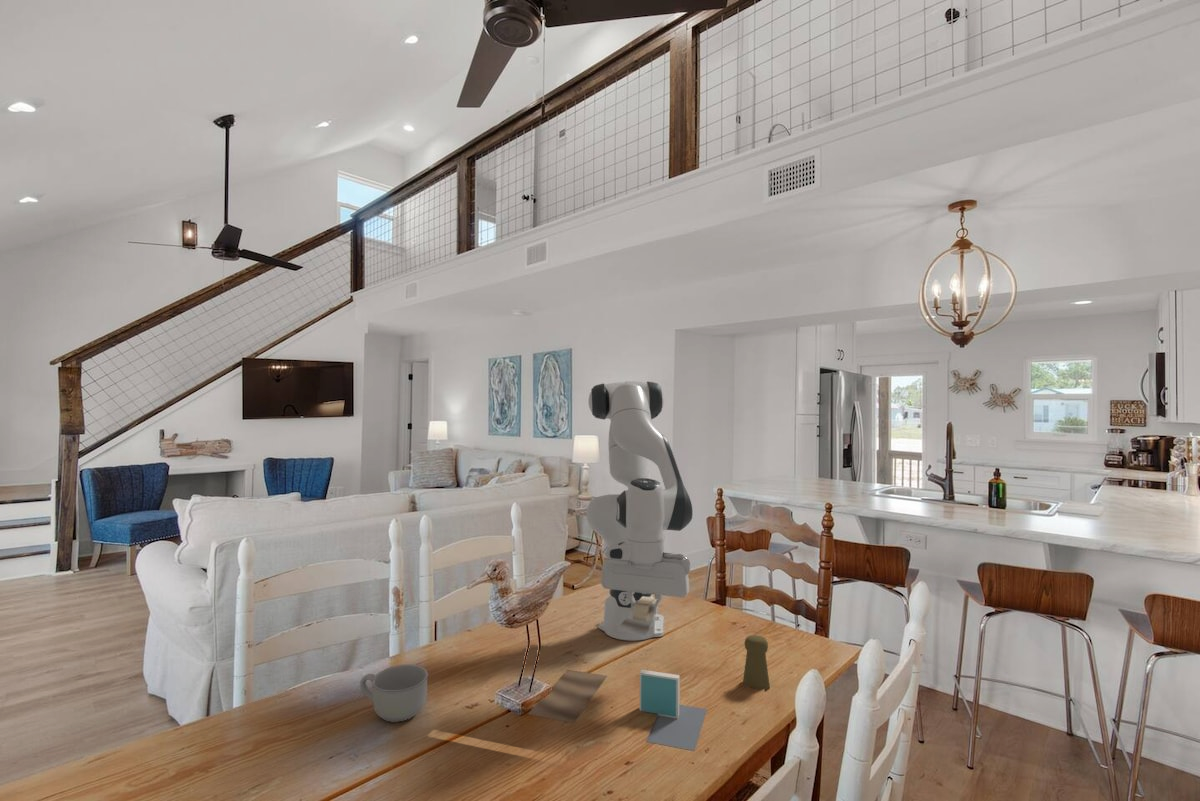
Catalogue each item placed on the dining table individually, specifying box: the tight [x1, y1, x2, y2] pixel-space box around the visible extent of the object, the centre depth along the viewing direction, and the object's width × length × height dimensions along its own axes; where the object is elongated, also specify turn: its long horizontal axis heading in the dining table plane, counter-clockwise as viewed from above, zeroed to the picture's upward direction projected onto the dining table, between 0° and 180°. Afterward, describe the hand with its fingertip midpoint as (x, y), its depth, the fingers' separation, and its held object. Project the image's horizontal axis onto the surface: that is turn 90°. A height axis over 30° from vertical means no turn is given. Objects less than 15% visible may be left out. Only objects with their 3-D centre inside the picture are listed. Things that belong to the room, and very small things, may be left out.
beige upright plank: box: [618, 596, 656, 635], centre depth 131 cm, size 14×6×4 cm, turn 160°
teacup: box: [359, 664, 429, 723], centre depth 120 cm, size 14×11×8 cm
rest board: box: [527, 669, 608, 724], centre depth 127 cm, size 22×10×1 cm, turn 162°
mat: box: [645, 704, 708, 752], centre depth 117 cm, size 16×18×1 cm
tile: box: [639, 669, 681, 719], centre depth 120 cm, size 2×8×8 cm, turn 72°
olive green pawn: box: [742, 634, 771, 692], centre depth 134 cm, size 6×6×11 cm
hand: (644, 611), depth 134 cm, fingers closed on beige upright plank, 3 cm apart
